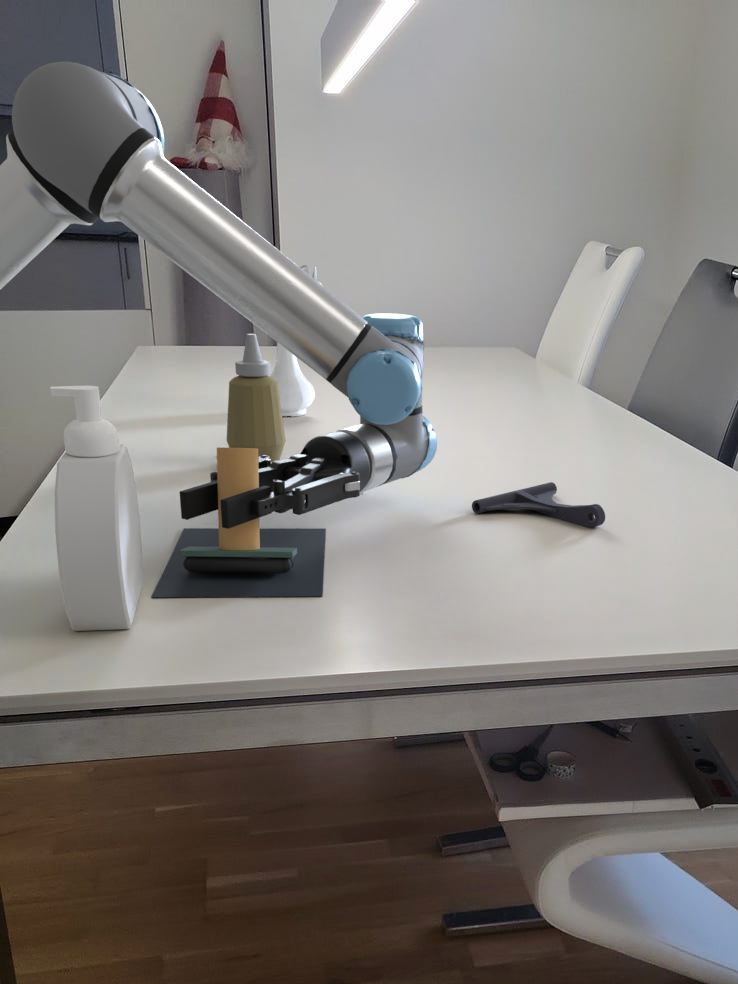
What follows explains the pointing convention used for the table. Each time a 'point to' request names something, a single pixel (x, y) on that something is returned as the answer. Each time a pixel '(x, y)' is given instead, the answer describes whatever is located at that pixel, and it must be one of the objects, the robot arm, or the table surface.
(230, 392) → the squeeze bottle
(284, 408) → the flower vase
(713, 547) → the table surface
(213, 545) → the wipe mat
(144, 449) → the table surface
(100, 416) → the soap bottle
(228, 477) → the wiper
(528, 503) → the bracket
